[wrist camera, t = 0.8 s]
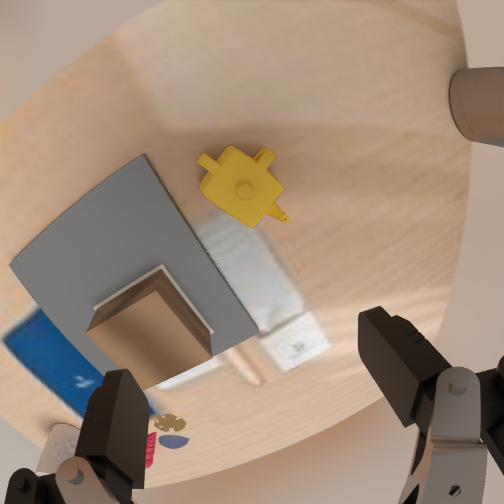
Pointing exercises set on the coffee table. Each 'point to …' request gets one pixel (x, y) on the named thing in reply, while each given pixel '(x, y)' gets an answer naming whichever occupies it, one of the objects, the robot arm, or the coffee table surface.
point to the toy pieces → (165, 436)
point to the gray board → (125, 261)
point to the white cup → (58, 448)
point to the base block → (151, 331)
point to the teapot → (242, 185)
